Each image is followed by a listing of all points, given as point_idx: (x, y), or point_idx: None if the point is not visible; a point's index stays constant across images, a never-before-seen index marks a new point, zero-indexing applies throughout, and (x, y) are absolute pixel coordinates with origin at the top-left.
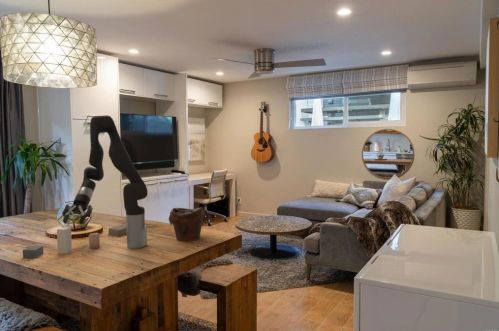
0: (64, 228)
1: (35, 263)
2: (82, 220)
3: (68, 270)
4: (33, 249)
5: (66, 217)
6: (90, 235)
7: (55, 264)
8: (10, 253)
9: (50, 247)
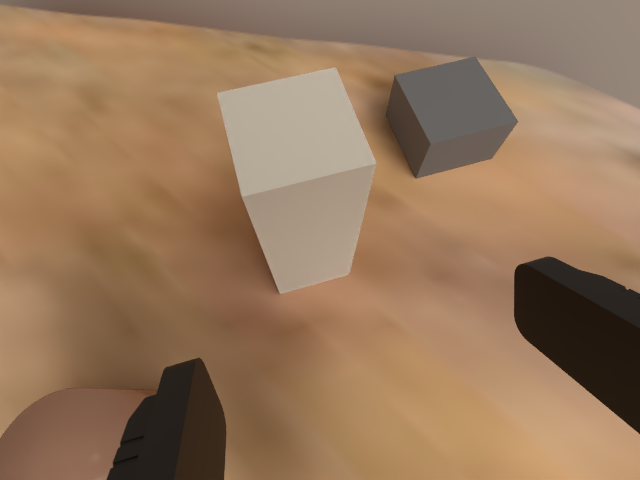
0: (273, 119)
1: (299, 65)
2: (130, 422)
3: (49, 53)
4: (416, 80)
5: (619, 329)
6: (76, 388)
7: (178, 84)
8: (615, 122)
9: None
